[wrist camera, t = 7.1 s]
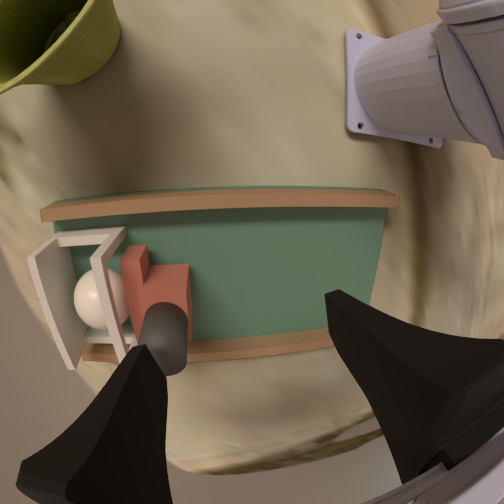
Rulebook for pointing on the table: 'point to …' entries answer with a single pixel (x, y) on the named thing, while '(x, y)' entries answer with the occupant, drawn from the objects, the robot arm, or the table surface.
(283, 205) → the pitch
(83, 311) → the ball
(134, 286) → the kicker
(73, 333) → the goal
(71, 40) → the plant pot
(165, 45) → the table surface
